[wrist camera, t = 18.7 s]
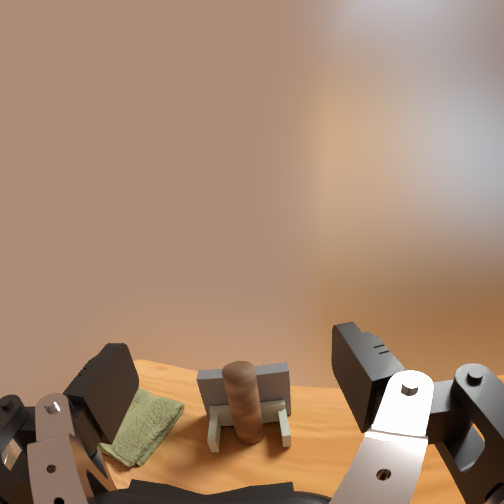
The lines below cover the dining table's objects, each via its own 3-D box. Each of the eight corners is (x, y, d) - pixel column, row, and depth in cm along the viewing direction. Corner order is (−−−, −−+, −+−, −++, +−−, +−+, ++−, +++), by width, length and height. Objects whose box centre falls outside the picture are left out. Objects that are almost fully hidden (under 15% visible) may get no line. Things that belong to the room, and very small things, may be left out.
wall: (209, 421, 40) (196, 379, 38) (210, 412, 43) (198, 370, 41) (291, 414, 40) (288, 371, 38) (289, 405, 43) (286, 362, 41)
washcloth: (85, 443, 32) (77, 431, 32) (140, 394, 48) (135, 382, 48) (137, 475, 28) (129, 464, 27) (191, 411, 44) (187, 399, 43)
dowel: (236, 445, 34) (220, 381, 32) (236, 426, 39) (222, 362, 36) (265, 443, 34) (255, 378, 32) (263, 424, 39) (254, 359, 36)
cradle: (211, 452, 33) (205, 437, 32) (214, 421, 40) (209, 405, 39) (291, 446, 33) (290, 431, 32) (285, 415, 40) (284, 399, 39)
